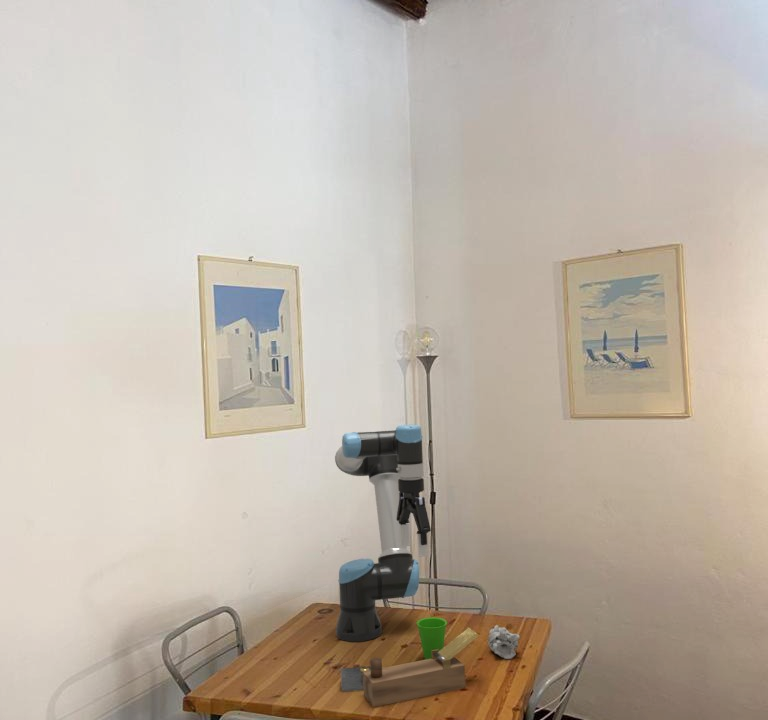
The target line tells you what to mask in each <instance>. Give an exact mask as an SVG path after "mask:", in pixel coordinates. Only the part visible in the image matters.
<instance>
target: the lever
mask: <svg viewBox="0 0 768 720" xmlns="http://www.w3.org/2000/svg"><path fill="white" fill-rule="evenodd" d="M478 637H479V634H478V632H476V631H474V630H473V629H471V628H470V627H467V628H466V629H465V630H464V631H462V632H461V633H460V634H459V635H457V636H456V637H455V638H454V639H452V640H451V641H450V642H449V643H448V644H446V645H444V647H443V648H442V649H441V650H440V651H439V652H435V653H434V656H435V657H436V658H437V659H438V660H439V661H441V662H442V663H443V660H445V659H451V658H452V657H455V656H456V655H457V654H459V653H460V652H462V651H463V650H464V649H465V648H466V647H468V646H469V645H470V644H471V643H472V642H473V641H474V640H476V639H477V638H478Z"/></svg>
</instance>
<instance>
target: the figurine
mask: <svg viewBox="0 0 768 720" xmlns="http://www.w3.org/2000/svg"><path fill="white" fill-rule="evenodd" d="M519 639H521V637H520V635H519V634H518V633H511V632H509V630H507V628H506V627H500V626H499V625H498V624H496V625H494V628H491V629H490V630H488V639H487V642H488V643H487V644H488V647H489V648H490V650H491V651H493V652H494V654H495V655H498V656H499V657H500V658H502V659H505V660H512V659H513V658H514V657H515V656H516V655H517V653H516V651H515V650H517V649H518V647H519V643H518V642H519Z"/></svg>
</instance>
